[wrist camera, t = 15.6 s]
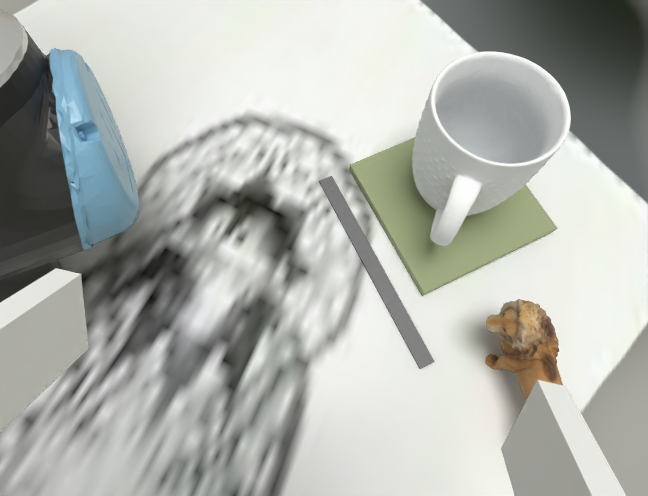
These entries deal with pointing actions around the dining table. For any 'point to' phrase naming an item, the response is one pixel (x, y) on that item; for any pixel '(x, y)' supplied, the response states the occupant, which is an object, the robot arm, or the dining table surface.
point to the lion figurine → (525, 344)
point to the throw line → (377, 274)
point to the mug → (485, 135)
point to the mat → (417, 218)
